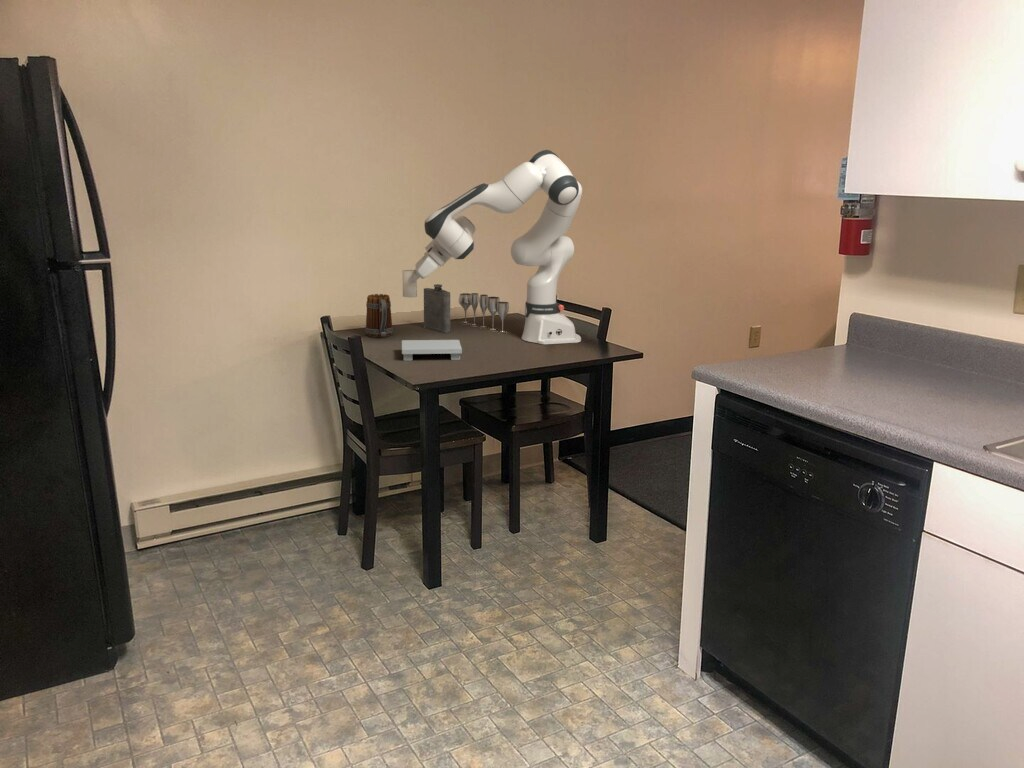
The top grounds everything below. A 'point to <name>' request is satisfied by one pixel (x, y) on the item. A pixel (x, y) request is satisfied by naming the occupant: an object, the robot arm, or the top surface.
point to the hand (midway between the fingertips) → (409, 281)
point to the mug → (378, 316)
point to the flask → (437, 309)
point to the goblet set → (484, 306)
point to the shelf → (431, 348)
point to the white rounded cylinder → (408, 288)
